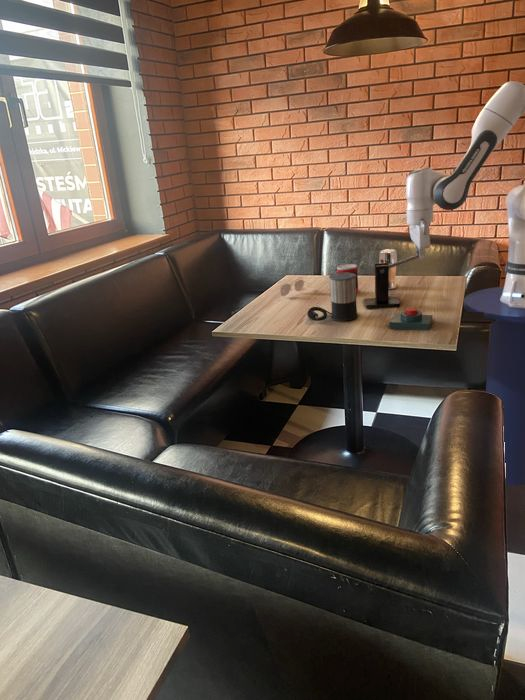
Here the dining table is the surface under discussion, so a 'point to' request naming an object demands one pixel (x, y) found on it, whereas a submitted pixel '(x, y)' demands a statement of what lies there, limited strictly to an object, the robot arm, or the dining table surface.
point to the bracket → (382, 289)
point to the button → (411, 311)
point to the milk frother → (339, 299)
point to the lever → (404, 261)
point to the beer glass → (389, 258)
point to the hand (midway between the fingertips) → (420, 257)
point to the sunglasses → (286, 288)
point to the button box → (411, 321)
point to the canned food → (349, 271)
